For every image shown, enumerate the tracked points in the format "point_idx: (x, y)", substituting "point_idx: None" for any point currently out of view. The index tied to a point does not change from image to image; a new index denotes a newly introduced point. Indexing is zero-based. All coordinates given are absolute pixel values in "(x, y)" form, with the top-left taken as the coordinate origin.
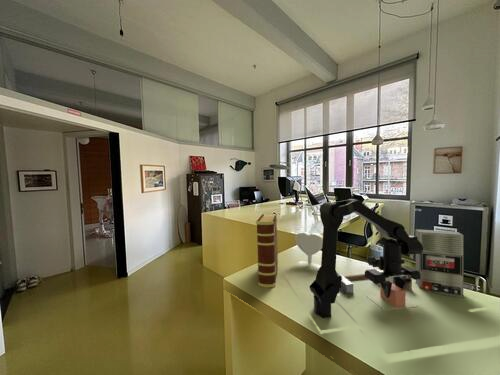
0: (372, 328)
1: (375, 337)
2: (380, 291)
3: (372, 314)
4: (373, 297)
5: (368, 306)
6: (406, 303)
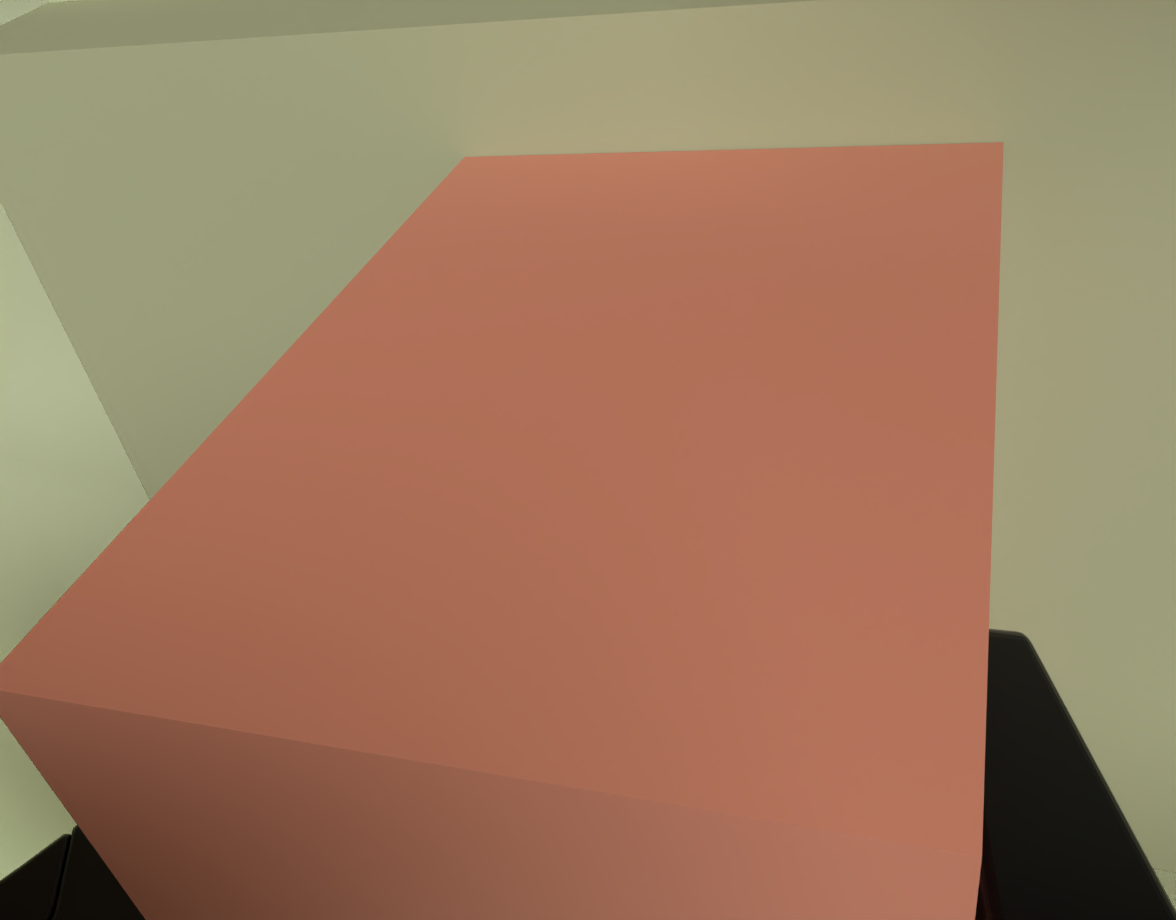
0: (2, 751)
1: (12, 836)
2: (357, 287)
3: (66, 551)
4: (147, 185)
5: (34, 310)
6: (1146, 724)
